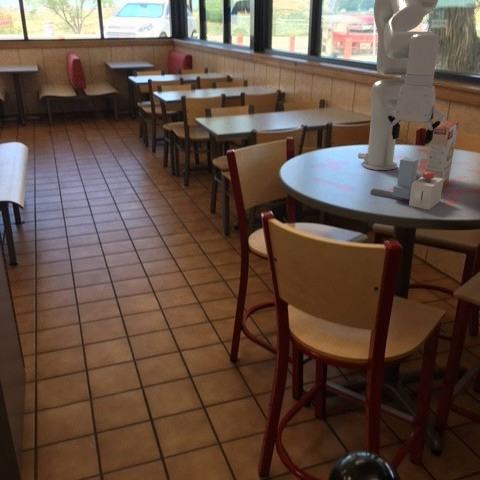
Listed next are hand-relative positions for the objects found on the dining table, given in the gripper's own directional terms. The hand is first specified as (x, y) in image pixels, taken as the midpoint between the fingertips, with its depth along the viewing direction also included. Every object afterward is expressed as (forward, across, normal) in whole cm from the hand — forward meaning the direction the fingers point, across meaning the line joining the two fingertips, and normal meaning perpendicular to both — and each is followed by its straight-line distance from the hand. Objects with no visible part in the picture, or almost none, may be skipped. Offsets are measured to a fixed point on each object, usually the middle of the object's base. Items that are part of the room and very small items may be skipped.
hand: (411, 140), depth 151 cm
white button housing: (+18, +7, -1) cm, 19 cm away
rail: (+18, -3, -1) cm, 18 cm away
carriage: (+16, +1, -1) cm, 17 cm away
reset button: (+11, +7, -1) cm, 13 cm away
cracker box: (+19, +4, +18) cm, 26 cm away
